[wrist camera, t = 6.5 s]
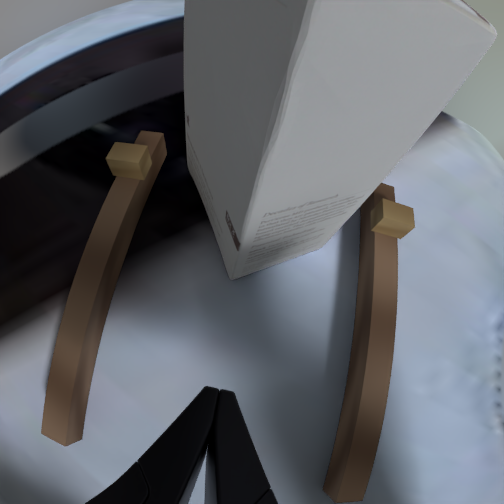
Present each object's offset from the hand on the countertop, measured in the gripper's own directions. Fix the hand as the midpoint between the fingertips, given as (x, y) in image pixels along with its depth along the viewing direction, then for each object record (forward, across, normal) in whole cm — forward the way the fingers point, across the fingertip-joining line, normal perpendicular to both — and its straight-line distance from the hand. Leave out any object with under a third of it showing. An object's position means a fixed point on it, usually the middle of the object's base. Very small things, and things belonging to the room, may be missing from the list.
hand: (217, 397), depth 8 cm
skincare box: (+11, 0, -3) cm, 12 cm away
